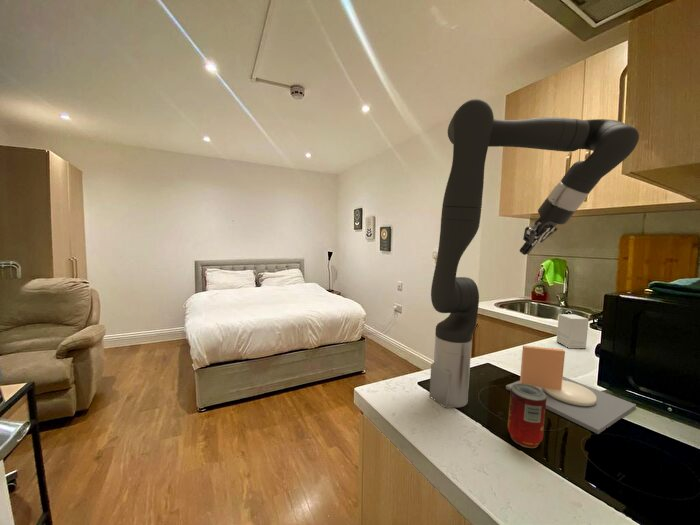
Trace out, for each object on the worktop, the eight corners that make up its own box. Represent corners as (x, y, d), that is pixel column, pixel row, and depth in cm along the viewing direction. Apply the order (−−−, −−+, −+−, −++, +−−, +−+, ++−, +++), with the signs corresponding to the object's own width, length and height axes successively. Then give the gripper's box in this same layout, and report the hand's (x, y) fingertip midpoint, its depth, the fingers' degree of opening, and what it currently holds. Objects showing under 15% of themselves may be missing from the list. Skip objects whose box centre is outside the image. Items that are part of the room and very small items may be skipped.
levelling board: (595, 436, 65) (596, 424, 65) (502, 389, 84) (503, 380, 84) (636, 407, 77) (637, 397, 77) (547, 372, 96) (547, 364, 96)
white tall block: (586, 349, 118) (589, 319, 117) (568, 348, 118) (571, 318, 117) (572, 342, 125) (575, 314, 124) (555, 342, 126) (558, 313, 124)
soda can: (549, 450, 60) (554, 397, 59) (518, 450, 60) (522, 396, 59) (529, 429, 67) (533, 381, 66) (500, 429, 67) (504, 380, 66)
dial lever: (580, 385, 85) (584, 345, 84) (606, 409, 74) (612, 363, 73) (513, 377, 89) (516, 339, 88) (528, 398, 78) (532, 354, 76)
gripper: (562, 194, 82) (525, 243, 93) (536, 195, 76) (499, 247, 87) (588, 208, 77) (545, 258, 88) (561, 211, 71) (520, 264, 82)
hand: (523, 252), depth 87 cm, fingers closed
